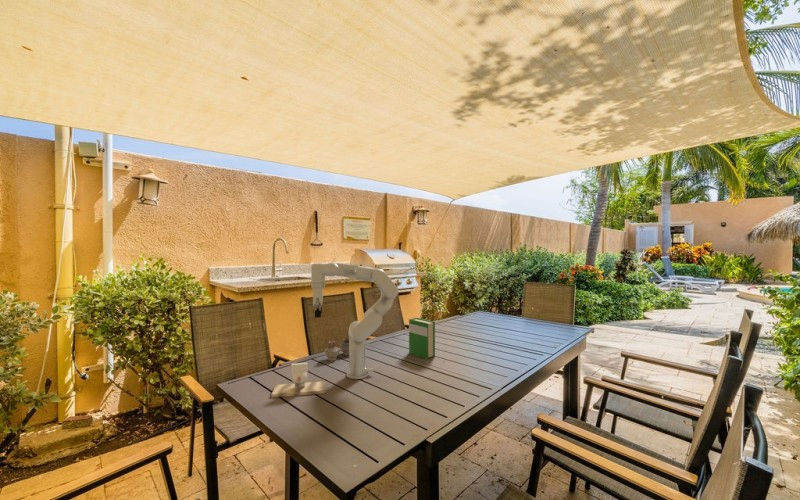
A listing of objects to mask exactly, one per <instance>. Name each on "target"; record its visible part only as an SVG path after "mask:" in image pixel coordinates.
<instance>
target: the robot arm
mask: <svg viewBox="0 0 800 500" xmlns="http://www.w3.org/2000/svg"><path fill="white" fill-rule="evenodd" d="M310 269H311V270H310V272H311V279H310V281H311V283H310V284H311V287H310V288H311V289H313V290H312V307H315V309H314V318H315V319H316V318H318V319H320V318H321V317H322V312H323V310H322V309H323V307H322V305H323V301H324V298H323V297H324V289H325V288H326V277H331V278H332V277H343V278H347V279H350V280H354V281H362V282H369V283H370V282H371V283H374V284H375V285H376V287H377V288H378V289H379V290H380V297H379V298H378V300H377V301H376V302H375V303H374V304H373V305H371V307H369V308H368V309H367V310H366V311H365V312H364V314H363V317H362V318H363V319H362V320H361V321H359V320H355V321H352V322H351V323H350V324H349V326H348V338H349V355H348V362H349V363H348V364H349V368H348V369H349V371H347V372H346V377H347V378H348V379H351V380H362V379H365V378H368V375H369V373H374V368H372V367H367V366H366V364H367V363H366V362H367V361H366V359H367V356H366V347H367V346H366V345H367V344H366V342H367V341H366V340H367V339H368V338H369V337H370V336H372V335H373V334H374V333H375V332H376V331H377V330H378V329H379V328H380V327H381V325H382V323H383V317H384V316H385V315H386V314H387V312H388V311H389V310H390V309H391V308H392V306H393V304H394V300H395V298H396V297H397V296H398V295H399V289H398V287H397V285H396V284H395V283H394V282H393V280H392V279H391V278H390V277H389V276H388V274H387V273H386V272H385V271H384V270H383V269H381V268H378V267H371V266H363V265H356V264H344V263H337V262H328V263H326V264H325V263H322V262H321V263H312V264H311V268H310Z"/></svg>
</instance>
